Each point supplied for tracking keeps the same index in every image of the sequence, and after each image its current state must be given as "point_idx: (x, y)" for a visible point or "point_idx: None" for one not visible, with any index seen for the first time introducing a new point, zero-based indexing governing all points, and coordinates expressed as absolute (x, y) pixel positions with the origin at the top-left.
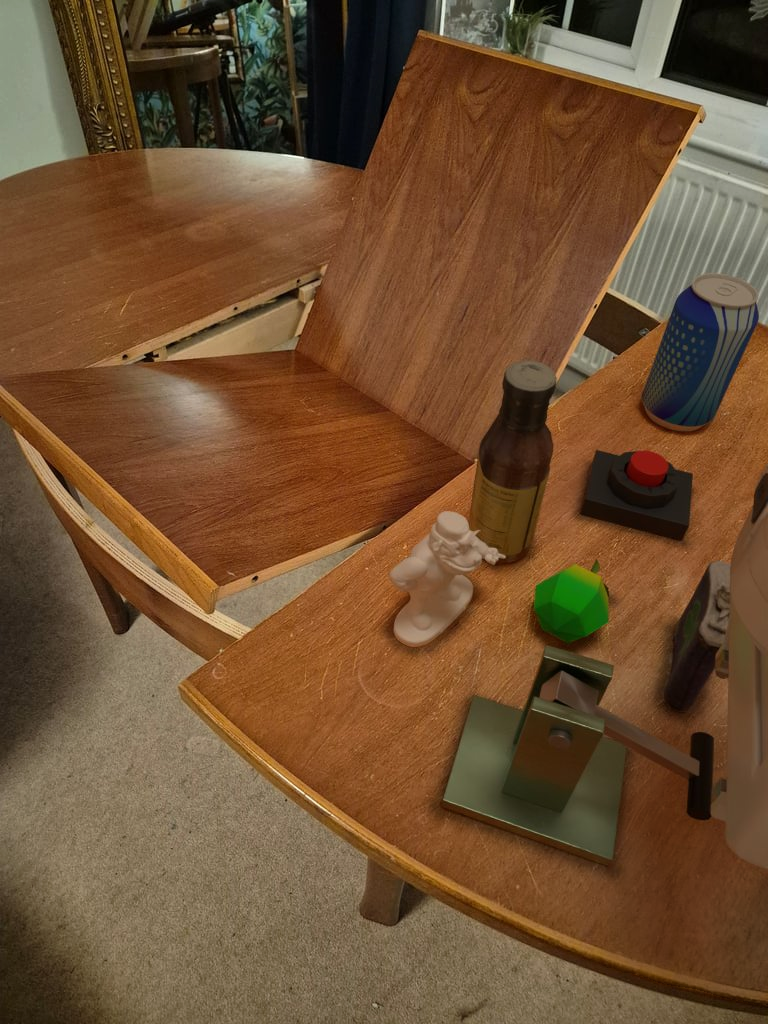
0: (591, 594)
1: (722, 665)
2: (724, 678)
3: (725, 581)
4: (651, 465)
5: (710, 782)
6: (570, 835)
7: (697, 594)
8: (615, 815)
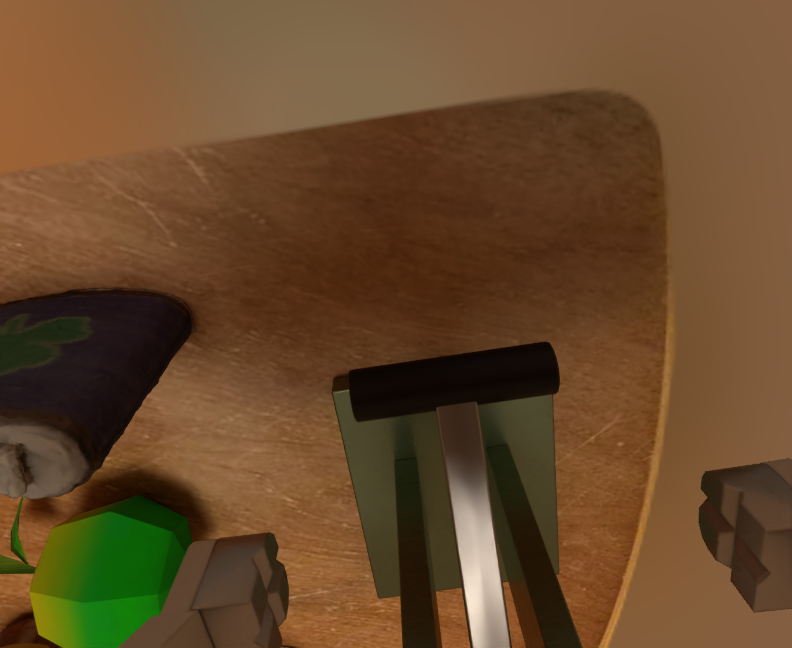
0: (97, 606)
1: (280, 645)
2: (281, 565)
3: None
4: None
5: (477, 374)
6: (537, 423)
7: None
8: None
